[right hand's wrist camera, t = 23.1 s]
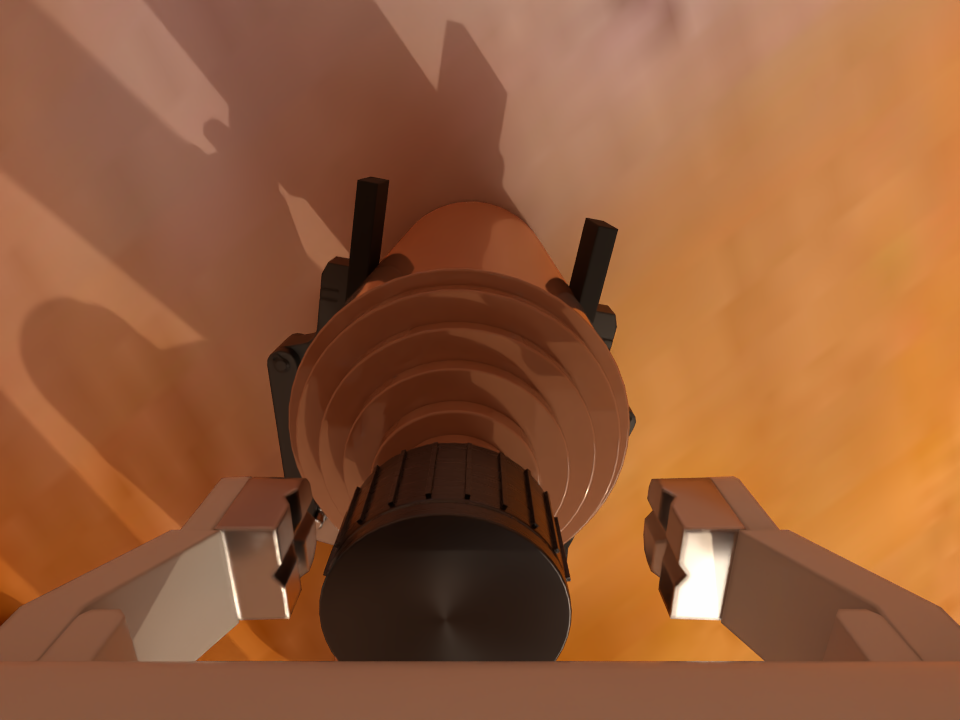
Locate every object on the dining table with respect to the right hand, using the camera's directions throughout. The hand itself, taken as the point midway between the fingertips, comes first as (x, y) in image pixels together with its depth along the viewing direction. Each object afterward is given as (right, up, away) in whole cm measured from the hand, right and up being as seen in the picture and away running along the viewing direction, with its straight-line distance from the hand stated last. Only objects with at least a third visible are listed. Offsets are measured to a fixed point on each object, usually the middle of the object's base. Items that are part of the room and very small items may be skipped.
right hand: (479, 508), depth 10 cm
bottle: (0, +7, +19) cm, 20 cm away
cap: (0, -1, -2) cm, 2 cm away
